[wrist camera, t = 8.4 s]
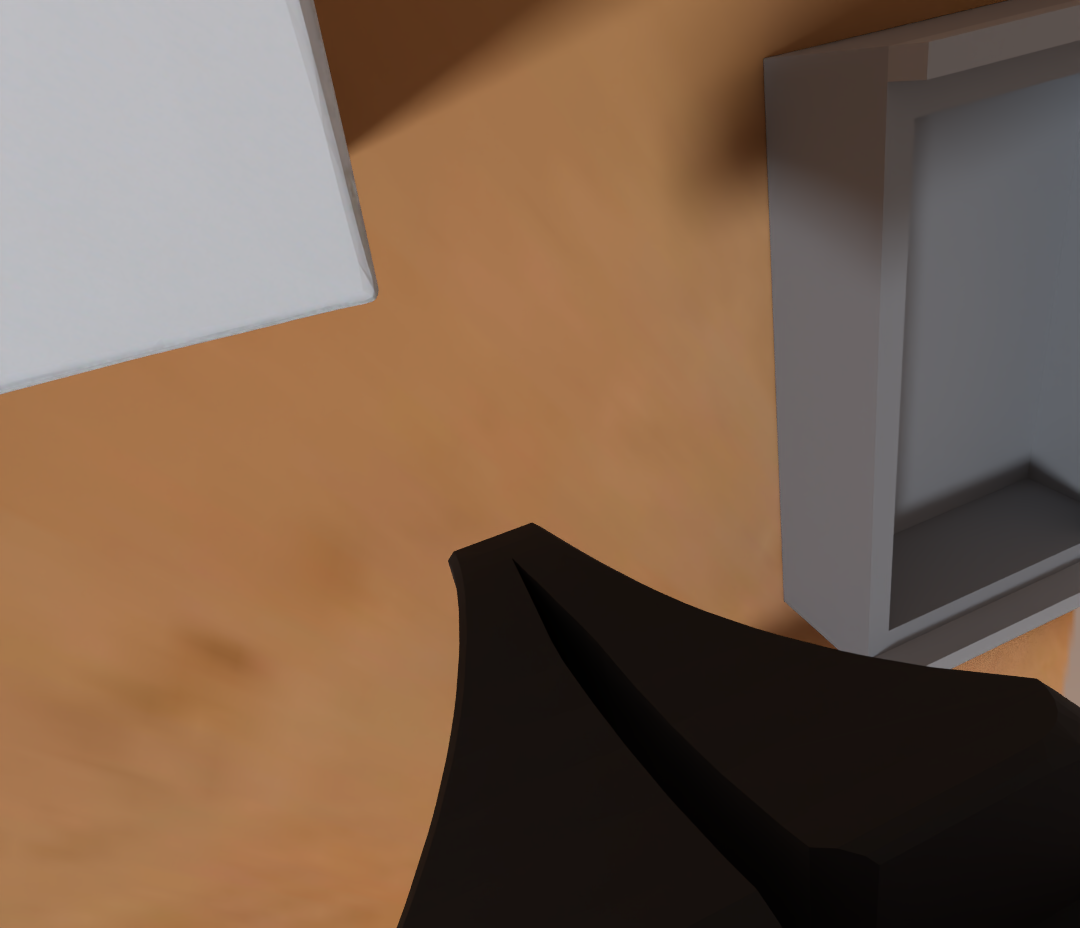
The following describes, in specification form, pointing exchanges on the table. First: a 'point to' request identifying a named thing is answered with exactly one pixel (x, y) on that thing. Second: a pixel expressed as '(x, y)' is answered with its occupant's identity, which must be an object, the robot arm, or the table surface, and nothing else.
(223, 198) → the skincare box
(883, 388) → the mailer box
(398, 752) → the table surface
